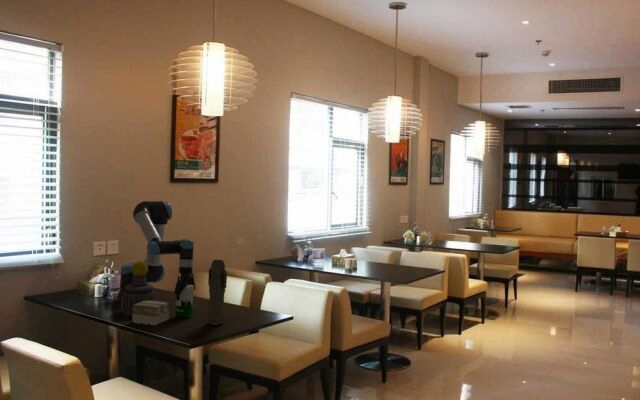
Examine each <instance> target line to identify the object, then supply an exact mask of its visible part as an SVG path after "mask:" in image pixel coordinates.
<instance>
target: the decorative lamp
mask: <svg viewBox="0 0 640 400" xmlns="http://www.w3.org/2000/svg"><path fill="white" fill-rule="evenodd" d="M133 263H134V264H133V266H132V273H133V274H134V276H133V277H134V278H133V280H132V281H133V282H132V283H131V284H129V285H127V286H125V291H123V294H122V300H121V302H120V303H121V306H120V307H121V308H120V310H121V312H122V314H123V315H125V316H129V317H133V305H134V304H137V303H140V302H144V301H147V300H152V301H157V299H156V291H155V290H154V286H153V285H152V284H150V283H147V282H146V278H145V277H146V276H145V275H146V273H147V271H148V267H147V265H146V263H144V261H142V260H141V261H136V262H133Z"/></svg>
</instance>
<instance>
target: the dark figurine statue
mask: <svg viewBox="0 0 640 400" xmlns="http://www.w3.org/2000/svg"><path fill="white" fill-rule="evenodd" d="M227 280H228V271H227V269H226V263H225V261H224V260H222V259H214V260H212V261H211V265H210V267H209V269H208V279H207V281H208V282H207V283H208V287H209V289H208V293H209V302H208V303H209V305H208V308H209V309H208V311H207V323H208V322H209V323H214V324H218V323H222V322H225V321H224V320H225V307H224V306H225V293H226V288H227V282H228V281H227Z"/></svg>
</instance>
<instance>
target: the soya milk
mask: <svg viewBox="0 0 640 400" xmlns="http://www.w3.org/2000/svg"><path fill="white" fill-rule="evenodd" d="M194 291H195V290H194V285H187V282H186V283H185V284H184V286H183V289H182V291H181V306H176V305H175V316H174V317H175V318H177V317H184V318H186V319H188V318H187V317H189V316H191V315H193V301H194ZM193 316H194V315H193ZM184 318H183V319H184ZM189 318H190V317H189Z"/></svg>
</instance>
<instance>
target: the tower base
mask: <svg viewBox="0 0 640 400" xmlns="http://www.w3.org/2000/svg"><path fill="white" fill-rule="evenodd" d="M168 319H169V320H170V312H167V313H164V314H162V315H159V316H156V317H152V316H144V315H137V314H133V316H132V321H131V322H134V323H133V324H140V323H142V324H141V325H148V324H150V325H149V326H157V325H159V323H160V324H162V323H164V321H165V322H167V321H169V320H168ZM166 320H167V321H166ZM161 322H162V323H161Z"/></svg>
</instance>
